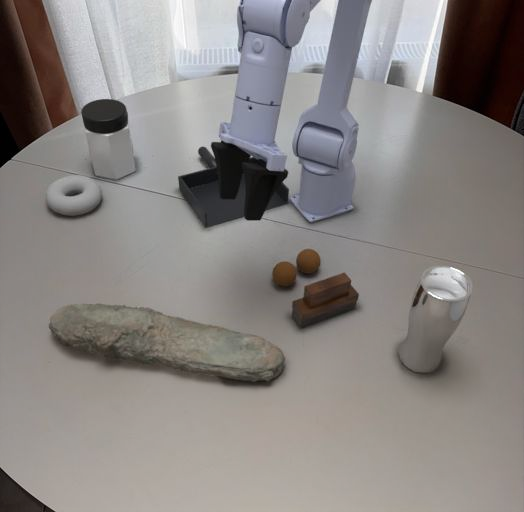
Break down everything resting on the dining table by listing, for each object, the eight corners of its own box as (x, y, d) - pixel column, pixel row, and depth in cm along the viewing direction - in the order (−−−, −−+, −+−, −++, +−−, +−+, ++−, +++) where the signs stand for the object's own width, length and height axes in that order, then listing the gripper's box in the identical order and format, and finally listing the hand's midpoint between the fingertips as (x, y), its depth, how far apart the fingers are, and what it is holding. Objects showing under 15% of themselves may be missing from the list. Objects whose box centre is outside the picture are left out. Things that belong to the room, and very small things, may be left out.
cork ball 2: (311, 259, 98) (313, 241, 95) (323, 274, 96) (326, 255, 93) (291, 266, 97) (292, 247, 94) (302, 281, 95) (304, 262, 92)
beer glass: (446, 346, 86) (477, 271, 75) (440, 381, 82) (471, 307, 71) (400, 334, 88) (423, 258, 76) (391, 368, 84) (414, 293, 72)
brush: (345, 295, 93) (350, 266, 88) (356, 308, 91) (362, 279, 86) (290, 315, 90) (293, 286, 85) (301, 329, 88) (304, 300, 83)
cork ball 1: (288, 271, 96) (290, 253, 93) (300, 286, 94) (302, 268, 91) (267, 279, 95) (268, 260, 92) (278, 294, 93) (279, 276, 90)
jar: (137, 178, 112) (128, 119, 103) (95, 182, 111) (81, 123, 102) (134, 153, 118) (124, 95, 109) (93, 157, 117) (80, 99, 108)
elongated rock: (275, 405, 80) (288, 353, 87) (279, 381, 77) (292, 329, 83) (37, 351, 83) (67, 305, 90) (30, 325, 79) (62, 279, 86)
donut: (39, 215, 105) (91, 222, 103) (33, 199, 102) (86, 206, 101) (62, 184, 111) (111, 190, 110) (57, 168, 108) (108, 174, 107)
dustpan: (288, 203, 108) (289, 189, 106) (205, 227, 103) (204, 213, 101) (238, 147, 120) (238, 133, 118) (162, 166, 115) (160, 152, 113)
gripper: (204, 83, 73) (190, 189, 80) (256, 111, 63) (236, 230, 70) (252, 89, 76) (236, 190, 83) (310, 117, 66) (286, 229, 73)
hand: (239, 208), depth 77 cm, fingers open, 7 cm apart
